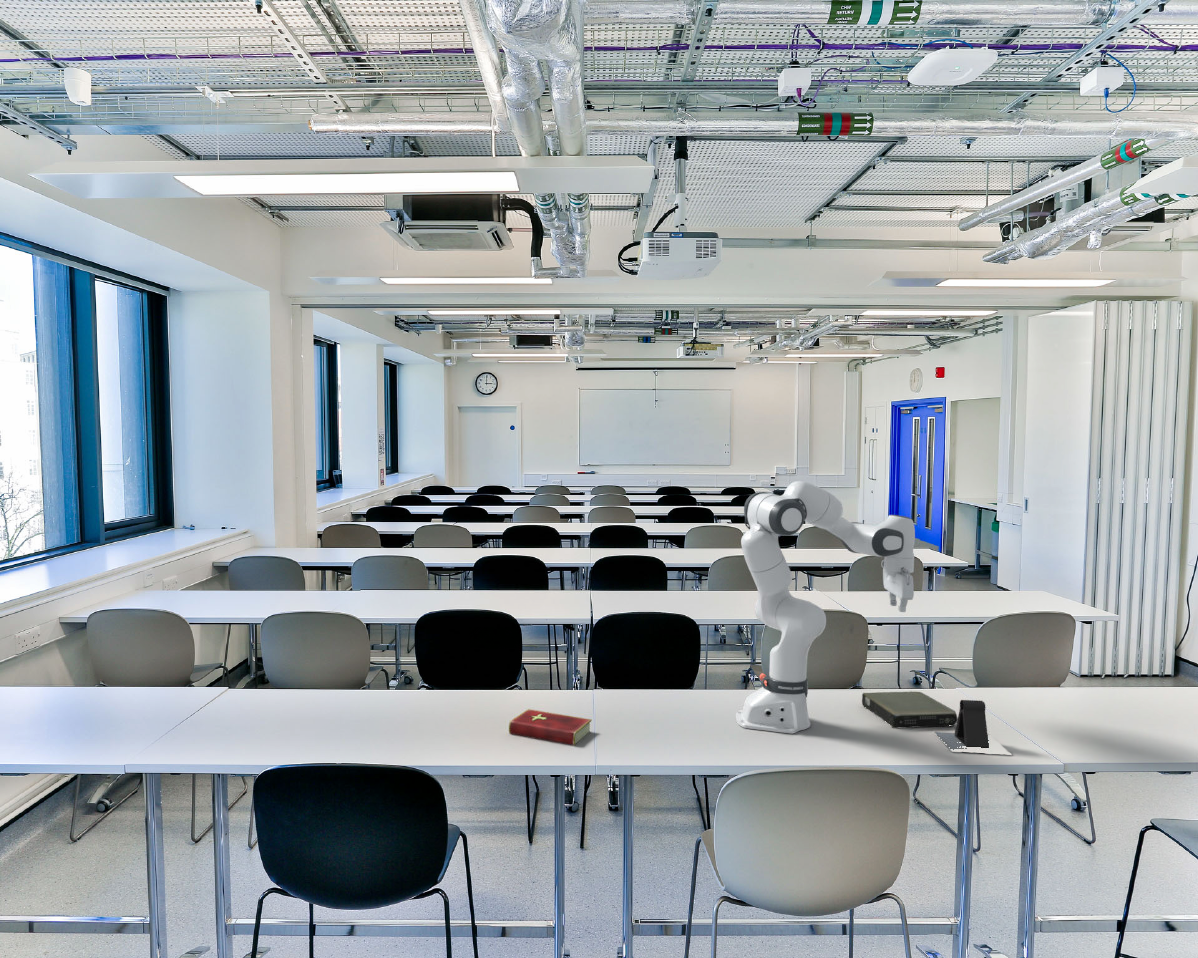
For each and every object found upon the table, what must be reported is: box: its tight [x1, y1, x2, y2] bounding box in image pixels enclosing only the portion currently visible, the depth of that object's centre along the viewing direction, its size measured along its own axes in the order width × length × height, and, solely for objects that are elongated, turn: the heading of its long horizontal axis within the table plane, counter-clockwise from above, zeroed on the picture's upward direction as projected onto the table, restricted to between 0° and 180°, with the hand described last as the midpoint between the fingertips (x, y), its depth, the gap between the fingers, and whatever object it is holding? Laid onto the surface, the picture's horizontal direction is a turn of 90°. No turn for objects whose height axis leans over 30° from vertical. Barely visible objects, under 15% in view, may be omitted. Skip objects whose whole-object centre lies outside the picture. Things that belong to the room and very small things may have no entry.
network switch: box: [861, 691, 958, 728], centre depth 238 cm, size 23×24×5 cm
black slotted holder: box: [954, 699, 989, 748], centre depth 215 cm, size 9×6×12 cm, turn 176°
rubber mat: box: [934, 731, 989, 750], centre depth 215 cm, size 16×14×1 cm
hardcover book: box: [508, 708, 592, 746], centre depth 218 cm, size 12×21×4 cm, turn 67°
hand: (897, 608), depth 239 cm, fingers open, 8 cm apart
